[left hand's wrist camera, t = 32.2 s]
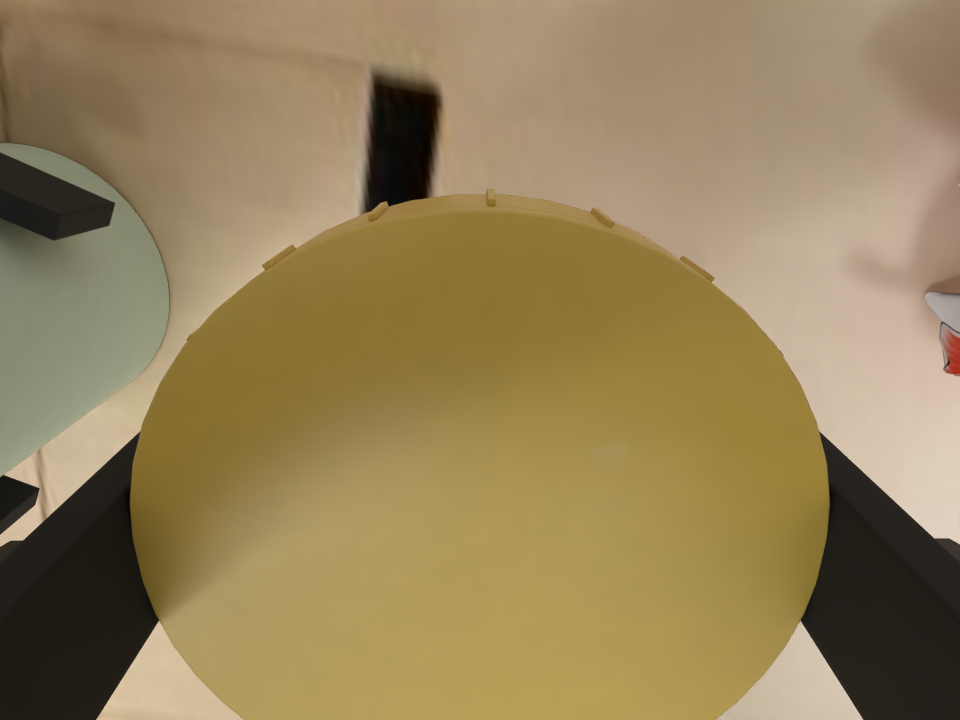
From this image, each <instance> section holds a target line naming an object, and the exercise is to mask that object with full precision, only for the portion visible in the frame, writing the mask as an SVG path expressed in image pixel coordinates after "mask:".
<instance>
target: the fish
mask: <svg viewBox="0 0 960 720" xmlns="http://www.w3.org/2000/svg"><path fill="white" fill-rule="evenodd" d="M958 186H959V187H960V183H959V184H958ZM925 301H926V303H927V304H928V306H929V307H930V308H931V309H932V311H933V312H934V313H935V314H936V315H937V316H938V317H939V318H940V319H941V321H942V323H941V327H940V337H939V340H940V343H941V346H942V351H943V357H944V364H945V365H944V369H943V370H944V371H945V372H946V373H949V374H954V375H955V376H960V294H952V293H942V292H933V291H931V292H928V293H927V294H926V296H925Z"/></svg>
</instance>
